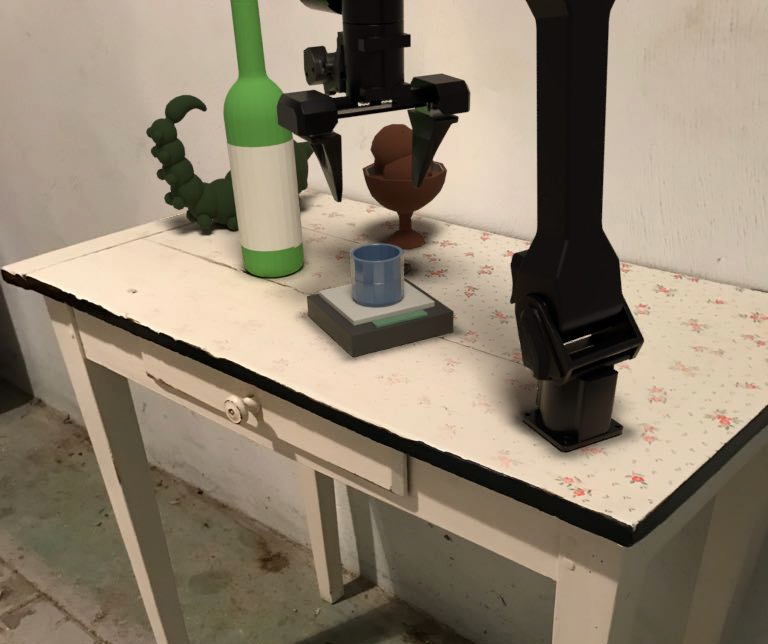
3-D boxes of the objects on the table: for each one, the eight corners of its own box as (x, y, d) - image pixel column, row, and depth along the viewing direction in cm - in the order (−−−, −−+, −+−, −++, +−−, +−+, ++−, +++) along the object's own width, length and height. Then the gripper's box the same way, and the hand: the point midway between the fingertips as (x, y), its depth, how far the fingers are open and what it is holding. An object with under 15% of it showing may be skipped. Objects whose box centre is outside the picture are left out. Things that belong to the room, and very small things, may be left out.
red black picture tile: (410, 274, 102) (410, 270, 101) (369, 274, 102) (369, 270, 102) (412, 261, 105) (412, 257, 105) (372, 261, 106) (372, 257, 106)
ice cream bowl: (440, 257, 107) (441, 133, 98) (356, 253, 109) (350, 131, 100) (451, 230, 115) (453, 113, 106) (373, 227, 117) (369, 113, 108)
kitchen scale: (453, 332, 88) (454, 305, 87) (352, 357, 84) (351, 330, 82) (401, 294, 97) (401, 270, 95) (308, 316, 93) (305, 290, 91)
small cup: (413, 301, 88) (412, 255, 85) (366, 312, 86) (364, 265, 83) (389, 284, 92) (388, 240, 89) (344, 294, 90) (341, 249, 87)
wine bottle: (233, 267, 106) (193, -6, 88) (284, 253, 110) (256, -12, 91) (264, 284, 101) (228, -2, 83) (316, 269, 104) (293, -9, 86)
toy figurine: (194, 257, 114) (344, 205, 124) (156, 111, 102) (325, 66, 112) (167, 240, 120) (311, 191, 130) (128, 100, 108) (290, 58, 118)
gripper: (418, 4, 85) (418, 162, 94) (248, 19, 78) (266, 188, 88) (476, 15, 77) (469, 187, 86) (292, 34, 70) (306, 217, 80)
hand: (377, 194), depth 85 cm, fingers open, 9 cm apart
